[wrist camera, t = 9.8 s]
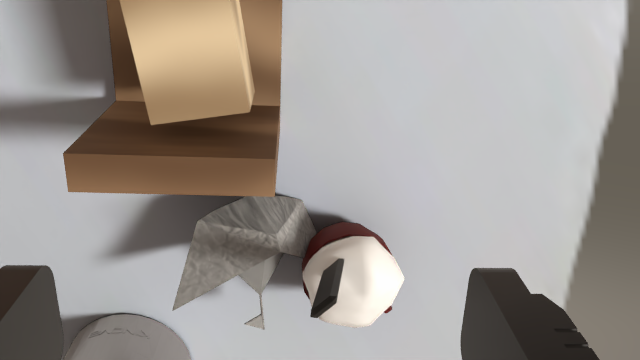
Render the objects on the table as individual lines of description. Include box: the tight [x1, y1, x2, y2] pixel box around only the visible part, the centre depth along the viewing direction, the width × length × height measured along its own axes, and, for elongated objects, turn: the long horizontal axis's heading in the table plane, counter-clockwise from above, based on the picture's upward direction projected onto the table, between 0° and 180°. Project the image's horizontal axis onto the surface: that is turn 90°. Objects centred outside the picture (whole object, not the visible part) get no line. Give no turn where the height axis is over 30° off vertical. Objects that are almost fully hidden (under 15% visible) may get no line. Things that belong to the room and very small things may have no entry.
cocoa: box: [302, 222, 405, 328], centre depth 36 cm, size 10×6×12 cm, turn 18°
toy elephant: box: [172, 196, 317, 329], centre depth 39 cm, size 12×6×9 cm
